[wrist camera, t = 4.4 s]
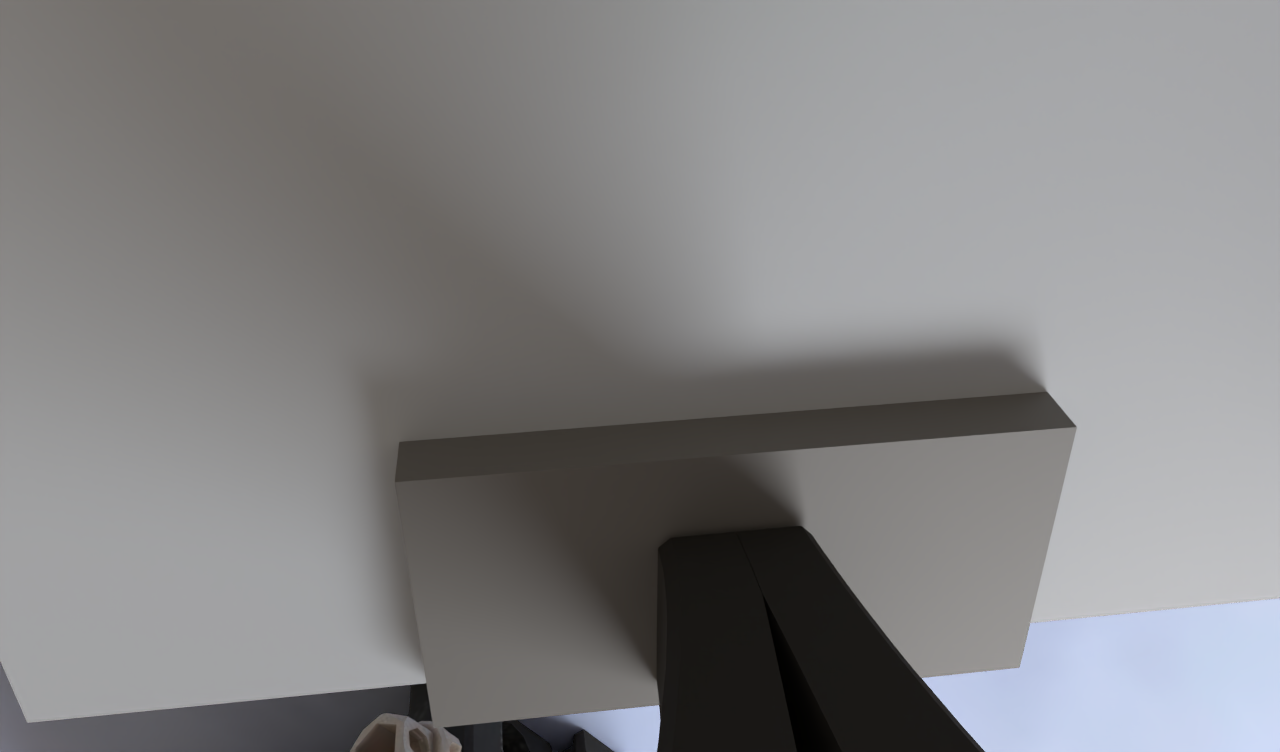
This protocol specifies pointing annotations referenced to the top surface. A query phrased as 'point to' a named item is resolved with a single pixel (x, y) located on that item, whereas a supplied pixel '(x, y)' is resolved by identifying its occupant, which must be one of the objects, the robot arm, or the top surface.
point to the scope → (455, 734)
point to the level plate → (617, 330)
